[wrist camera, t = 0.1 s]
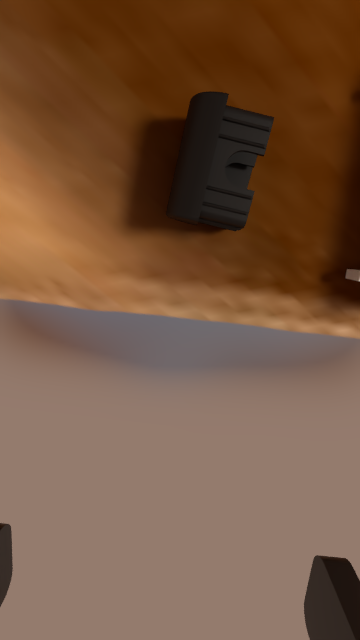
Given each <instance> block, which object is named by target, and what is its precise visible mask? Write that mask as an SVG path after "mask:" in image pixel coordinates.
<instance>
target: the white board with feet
mask: <svg viewBox="0 0 360 640" xmlns="http://www.w3.org/2000/svg"><path fill="white" fill-rule="evenodd" d="M345 278H346V279H350V280H355V281H359V282H360V270H355V269H347V271H346V277H345Z"/></svg>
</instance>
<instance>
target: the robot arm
mask: <svg viewBox="0 0 360 640" xmlns="http://www.w3.org/2000/svg"><path fill="white" fill-rule="evenodd" d="M11 577H12V539H11V526H10V525H9V524H2V523H0V606H1V604H2V602H3V600H4V598H5V596H6V594H7V591H8V588H9V585H10V581H11ZM304 614H305V621H306V627H307V631H308V635H309V637H310V640H360V581H359V579H358V577H357V575H356V573H355V571H354V569H353V567H352V565H351V563H350V562H349V561H348V560H347V559H346V558H338V557H327V556H315V557H314V560H313V564H312V568H311V573H310V577H309V582H308V587H307V592H306V596H305V602H304Z"/></svg>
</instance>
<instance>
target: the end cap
mask: <svg viewBox="0 0 360 640" xmlns="http://www.w3.org/2000/svg"><path fill="white" fill-rule="evenodd" d="M228 95H229V94H227V93H222V92H202V93H198V94H196V95H194V96H193V97H192V99H191V101H190V105H189V109H188V114H187V119H186V123H185V128H184V133H183V137H182V142H181V147H180V151H179V156H178V160H177V165H176V170H175V174H174V179H173V184H172V188H171V193H170V198H169V202H168V207H167V211H166V215H167V216H168V217H170V218H172V219H175V220H179V221H182V222H186V223H189V224H193V225H197V224H198V222H200V223H204V224H208V225H212V226H216V227H220V228H224V229H229V230H233V231H237V230H240V229H242V228H244V226H245V224H246V221H247V217H248V213H249V209H250V206H251V202H252V198H253V195H254V191H251V190H247V187H248V183H249V179H250V175H251V172H252V168H253V167H254V166H255V162H256V158H257V155H260V156H264V154H265V150H266V146H267V143H268V139H269V135H270V131H271V128H272V124H273V120H274V117H271V116H267V115H263V114H259V113H255V112H251V111H247V110H243V109H239V108H235V107H231V106H227V105H226V103H227V99H228Z"/></svg>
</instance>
